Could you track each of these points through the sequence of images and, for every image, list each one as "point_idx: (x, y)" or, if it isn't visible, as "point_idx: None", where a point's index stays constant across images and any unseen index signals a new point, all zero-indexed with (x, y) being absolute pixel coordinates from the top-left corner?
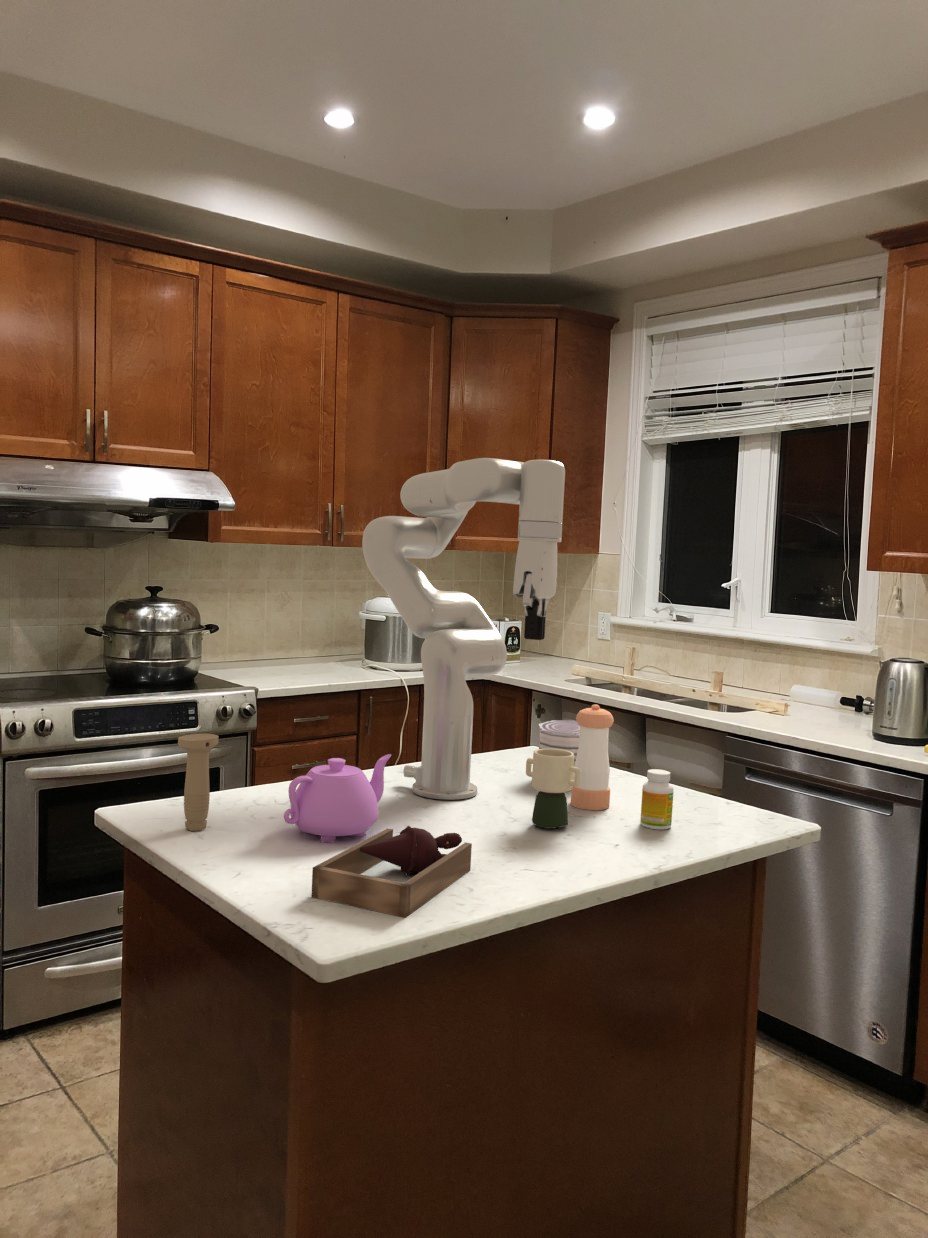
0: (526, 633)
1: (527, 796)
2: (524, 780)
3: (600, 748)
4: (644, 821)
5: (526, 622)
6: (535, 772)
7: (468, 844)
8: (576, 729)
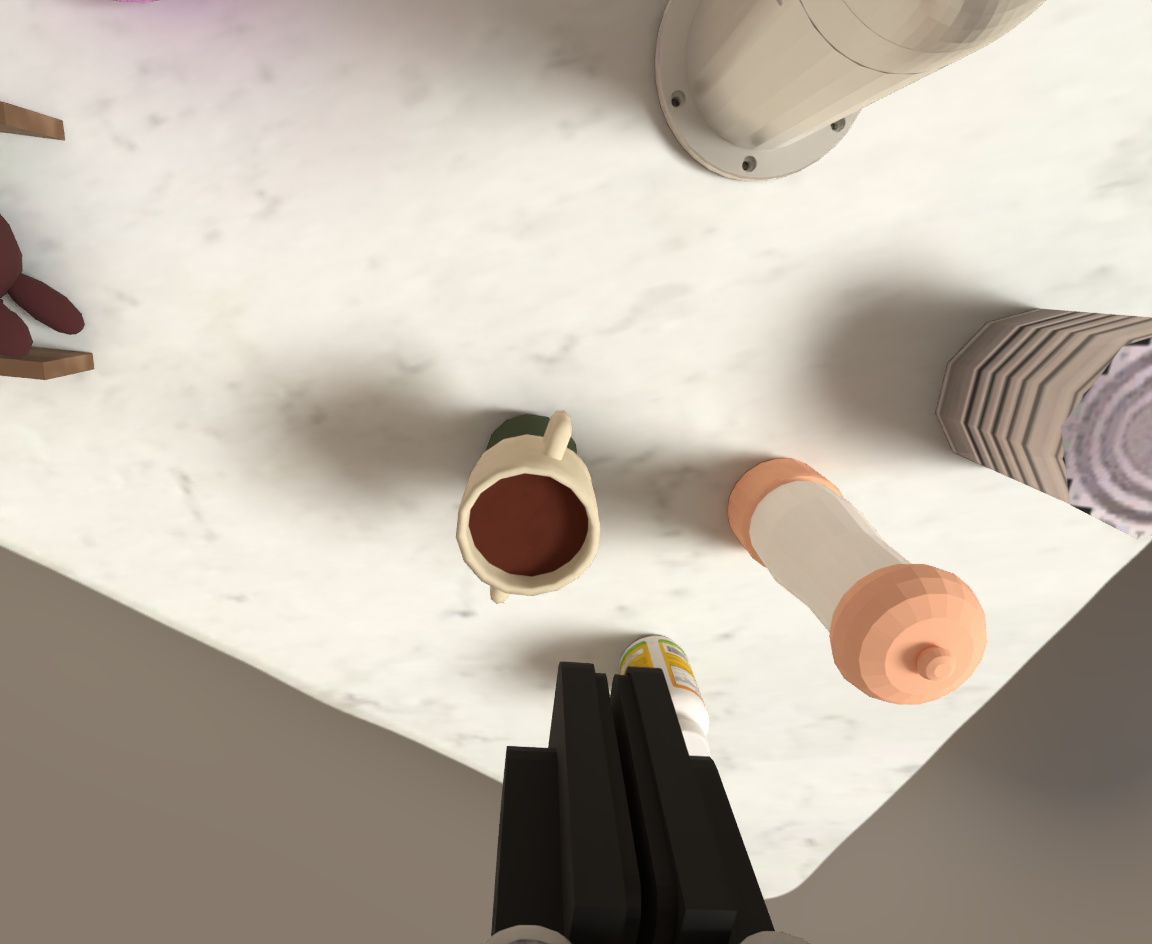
0: (559, 714)
1: (810, 332)
2: (1002, 276)
3: (812, 610)
4: (629, 652)
5: (565, 824)
6: (479, 465)
7: (31, 374)
8: (1147, 475)
